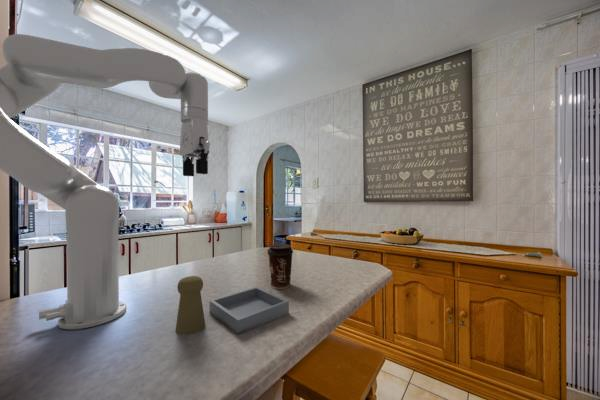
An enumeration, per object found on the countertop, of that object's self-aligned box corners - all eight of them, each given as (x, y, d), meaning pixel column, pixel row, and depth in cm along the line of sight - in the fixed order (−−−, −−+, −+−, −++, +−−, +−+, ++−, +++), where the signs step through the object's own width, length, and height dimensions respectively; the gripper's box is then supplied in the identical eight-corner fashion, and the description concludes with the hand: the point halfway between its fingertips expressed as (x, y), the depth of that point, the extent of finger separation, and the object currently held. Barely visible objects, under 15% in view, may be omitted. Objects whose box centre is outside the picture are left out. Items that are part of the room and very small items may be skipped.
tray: (238, 334, 52) (238, 320, 52) (209, 312, 62) (209, 300, 62) (288, 313, 62) (288, 301, 61) (257, 297, 72) (256, 286, 72)
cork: (198, 334, 52) (198, 282, 52) (169, 334, 52) (169, 282, 52) (209, 320, 58) (209, 273, 58) (183, 320, 58) (183, 273, 58)
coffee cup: (264, 282, 84) (264, 244, 84) (288, 279, 87) (288, 242, 87) (271, 291, 76) (270, 249, 76) (296, 288, 79) (296, 247, 79)
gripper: (171, 121, 78) (171, 176, 78) (193, 106, 66) (194, 171, 66) (195, 126, 83) (195, 177, 83) (220, 113, 71) (220, 173, 71)
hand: (194, 174), depth 75 cm, fingers open, 9 cm apart
